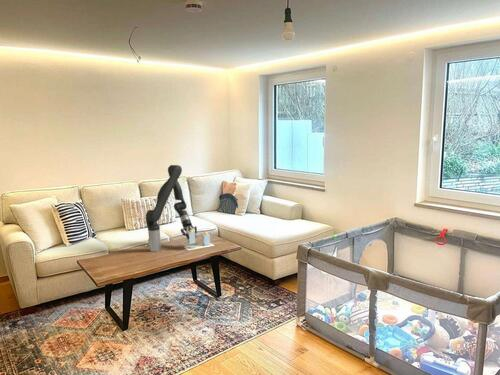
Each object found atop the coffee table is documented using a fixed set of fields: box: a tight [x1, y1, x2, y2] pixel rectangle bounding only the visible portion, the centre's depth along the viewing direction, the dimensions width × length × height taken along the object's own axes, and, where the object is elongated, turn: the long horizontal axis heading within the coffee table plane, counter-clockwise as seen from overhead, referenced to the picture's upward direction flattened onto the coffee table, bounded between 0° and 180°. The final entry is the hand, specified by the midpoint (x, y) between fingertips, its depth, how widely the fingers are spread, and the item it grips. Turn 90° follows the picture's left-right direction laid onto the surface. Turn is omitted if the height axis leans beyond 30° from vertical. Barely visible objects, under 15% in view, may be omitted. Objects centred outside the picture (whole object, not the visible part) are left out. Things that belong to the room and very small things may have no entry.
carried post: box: [186, 230, 196, 245], centre depth 311 cm, size 5×5×10 cm
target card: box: [183, 242, 215, 251], centre depth 315 cm, size 23×12×1 cm, turn 120°
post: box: [201, 232, 211, 246], centre depth 318 cm, size 5×5×10 cm
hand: (192, 238), depth 309 cm, fingers closed on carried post, 5 cm apart
